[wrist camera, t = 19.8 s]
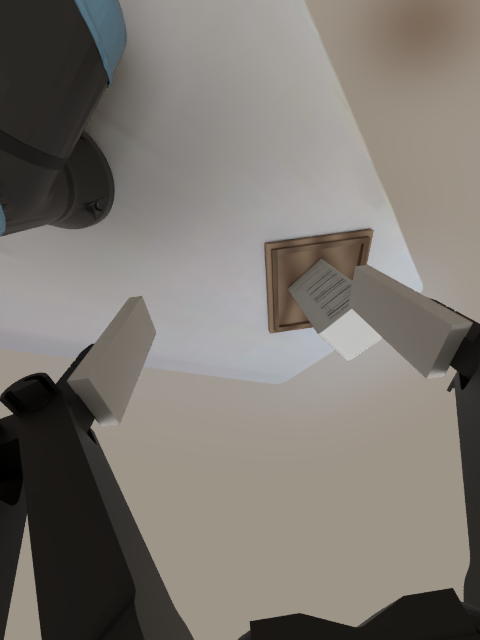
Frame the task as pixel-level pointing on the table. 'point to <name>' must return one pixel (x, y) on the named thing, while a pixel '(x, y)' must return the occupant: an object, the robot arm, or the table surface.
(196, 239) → the table surface
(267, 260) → the walnut tray
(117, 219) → the table surface
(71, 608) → the robot arm
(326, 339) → the supplement box
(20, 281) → the table surface
